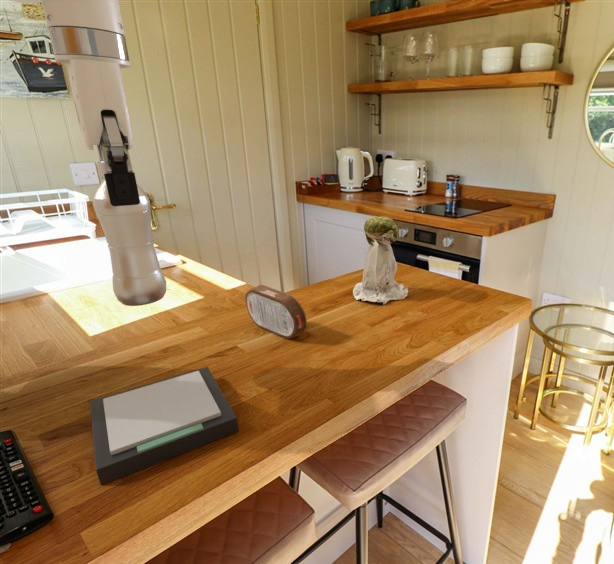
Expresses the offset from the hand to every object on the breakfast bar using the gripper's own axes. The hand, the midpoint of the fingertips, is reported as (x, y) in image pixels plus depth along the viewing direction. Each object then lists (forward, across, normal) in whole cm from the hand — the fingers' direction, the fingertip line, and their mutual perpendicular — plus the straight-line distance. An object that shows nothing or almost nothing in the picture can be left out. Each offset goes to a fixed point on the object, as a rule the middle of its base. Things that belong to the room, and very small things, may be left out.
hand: (122, 199), depth 57 cm
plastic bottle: (+15, 0, 0) cm, 15 cm away
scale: (+28, +13, -1) cm, 31 cm away
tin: (+28, -4, +21) cm, 35 cm away
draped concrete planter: (+28, -8, +48) cm, 56 cm away
